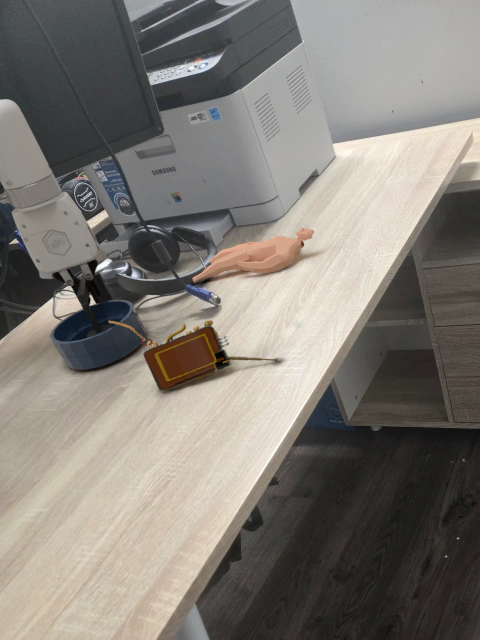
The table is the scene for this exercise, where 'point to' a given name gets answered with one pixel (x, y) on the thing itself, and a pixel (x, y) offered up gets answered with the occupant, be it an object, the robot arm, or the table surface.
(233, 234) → the table surface
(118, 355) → the bowl
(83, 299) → the articulated desk lamp
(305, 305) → the table surface
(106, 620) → the table surface
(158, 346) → the brown box with rod
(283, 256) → the male figurine
